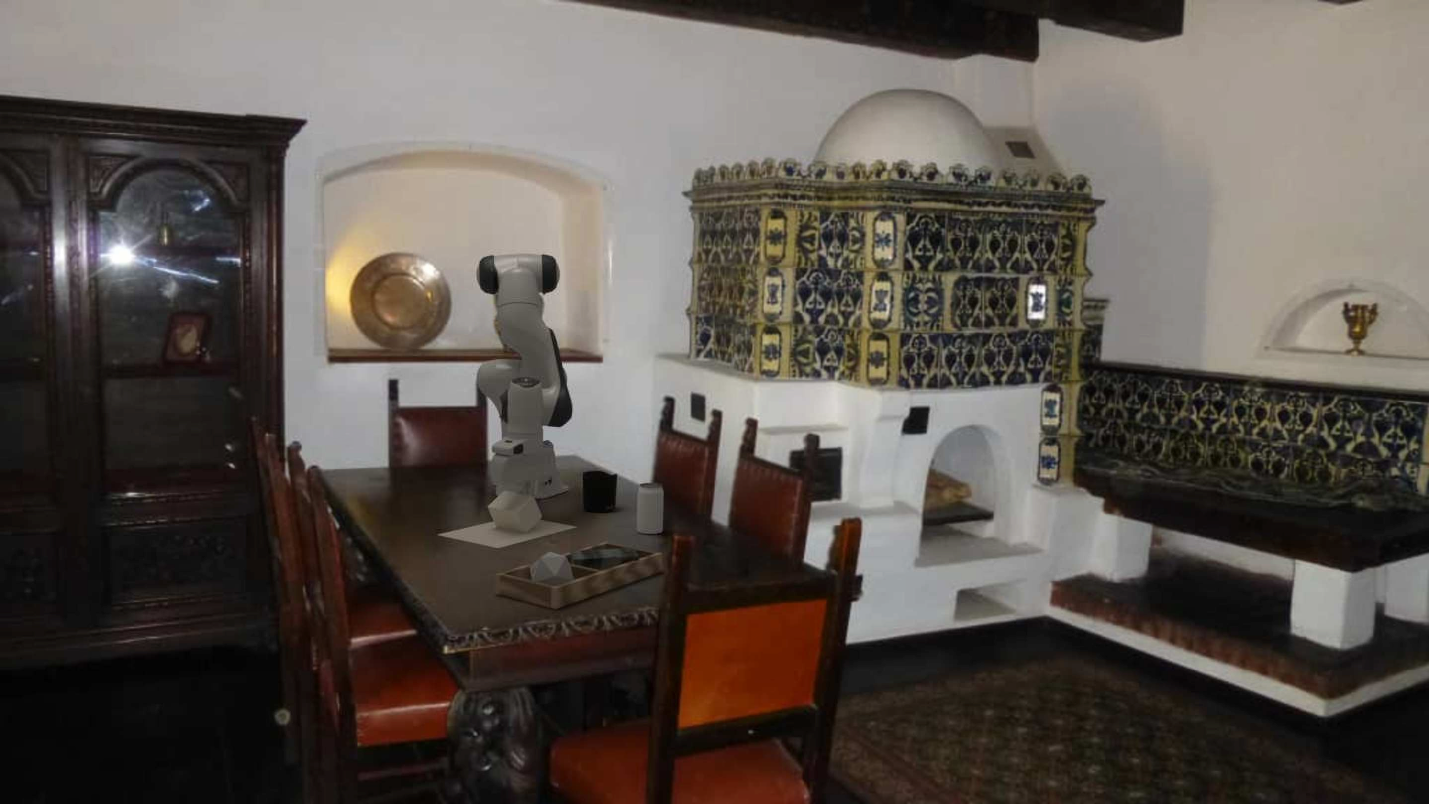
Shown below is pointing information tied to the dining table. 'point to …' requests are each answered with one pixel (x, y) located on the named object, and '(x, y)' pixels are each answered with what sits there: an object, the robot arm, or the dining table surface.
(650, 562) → the walnut tray
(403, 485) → the dining table surface
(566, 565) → the die
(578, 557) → the stone block
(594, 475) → the pen holder
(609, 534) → the dining table surface
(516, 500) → the plain beige block
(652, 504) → the can
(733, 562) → the dining table surface
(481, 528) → the felt mat
